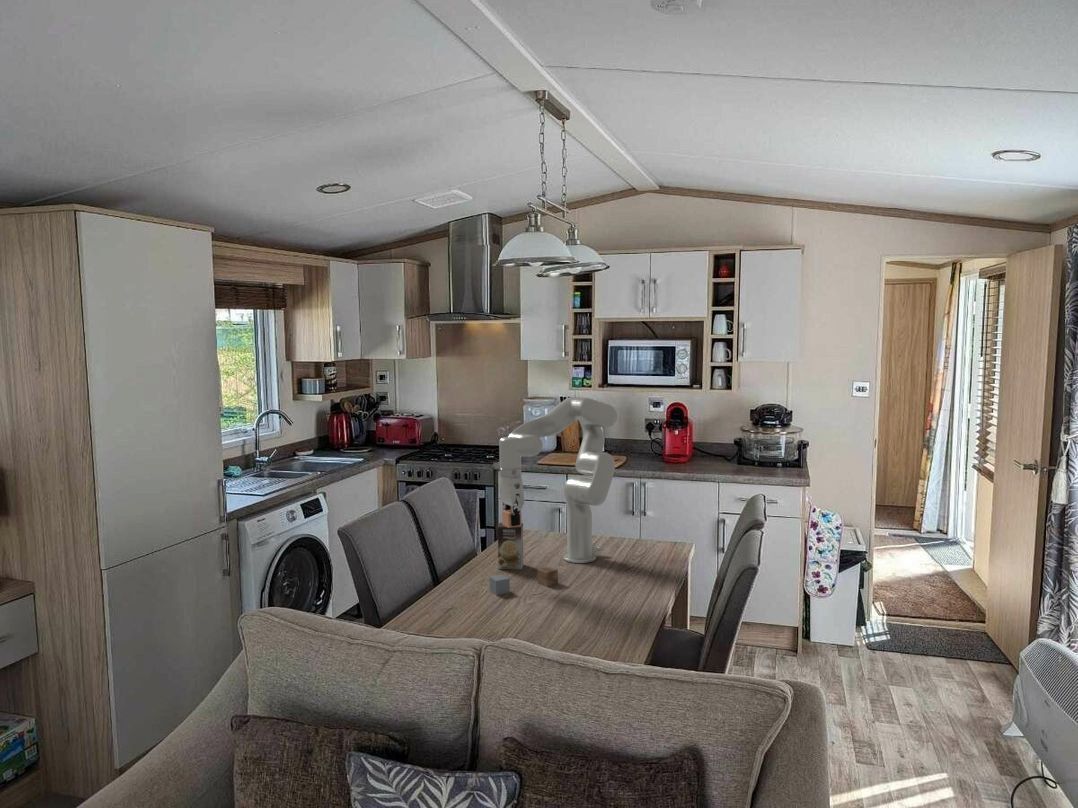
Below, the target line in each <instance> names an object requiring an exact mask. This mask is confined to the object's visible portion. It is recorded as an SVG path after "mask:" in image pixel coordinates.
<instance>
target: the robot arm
mask: <svg viewBox="0 0 1078 808" xmlns="http://www.w3.org/2000/svg"><path fill="white" fill-rule="evenodd" d="M617 413H618V412H617V410H616V409H615V408H614V406H612V405H611V404H607V403H604V402H602V401H599V400H595V399H593V398H588V397H579V396H570V397H567V398H565V399H564V400H562V401H561V402H560V403H558V404H557V405H556V406H555V407H553V408H552V409H551V410H549V411H548V412H547V413H545V414H543V415H541V416H539V417H537V418H534V419H531V420H529V421H526V422H524V423H522V424H521V425H519V426H518V427H516V428H515V429H514V430H513V431H511V433H509V434H508V436H504V437H501V438H500V439H499V441H498V445H499V447H498V449H499V451H498V453H499V477H500V489H499V490H500V491H499V493H500V501H501V503H502V511H504V510H510V509H511V511H512V515H511V526H518V525H520V511H521V510H522V509H523V505H524V504H525V494H524V486H523V485H524V483H523V478H522V477H523V476H522V457H535V456H537V455H539V454H540V453H541V452H542V450H543V446H544V445H543V441H542V439H541V438H546V437H551V436H555V435H558V434H561V432H563V431H564V430H565V429H566V428H568V427H569V426H570V425H571V424H573V423H574V422H576V421H578V423H579V424H580V426H581V429H582V441H581V444H580V447H579V450H578V453H577V456H576V459H575V460H576V462H575V466H574V467H575V470H576V471H577V472H578V473H579V474H582V475H584V476H591V478H588V477H582V476H572V477H569V478H568V479H567V480H566V481H565V482H564V484H563V485H564V486H563V495H564V500H565V505H566V538H567V539H566V540H567V541H566V545H567V547H566V548H567V552H566V553H564V554H563V557H562V558H563V560H565V561H566V562H567V563H574V564H586V563H592V562H594V561H595V560H597V554H596V553H597V552H603V551H604V546H603V545H598V546H597V545H593V514H592V509H591V506H594V507H595V506H596V507H597V506H601V505H602V504H604V503H605V502H606V500H607V497H608V494H609V492H610V487H611V485H612V480H613V477H614V474H615V470H616V463H615V460H614V456H612V455H611V454H610V453H608V452H604V446H605V441H606V440H605V439H606V438H605V433H604V431H603V429H602V428H611V427H612V426H614V425H615V423H617V420H618V414H617ZM514 509H515V510H514ZM521 512H522V511H521Z"/></svg>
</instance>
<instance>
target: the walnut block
mask: <svg viewBox="0 0 1078 808" xmlns="http://www.w3.org/2000/svg"><path fill="white" fill-rule="evenodd" d="M558 571H559V570H558V568H554V567H552V566H549V565H548V566H545V567H541V568H538V569H537V584H539V585H542V586H544V587H550V586H553V585H557V584H559V572H558Z"/></svg>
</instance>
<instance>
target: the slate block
mask: <svg viewBox="0 0 1078 808" xmlns="http://www.w3.org/2000/svg"><path fill="white" fill-rule="evenodd" d="M510 589H511V588H510V577H508V576H507V575H505V574H504V573H502V574H497V575H491V576H489V591H490V592H491V593H492V594H493V595H495V596H500V595H504V594H509V593H510V592H511V590H510Z"/></svg>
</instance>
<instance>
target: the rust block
mask: <svg viewBox="0 0 1078 808" xmlns="http://www.w3.org/2000/svg"><path fill="white" fill-rule="evenodd" d="M514 510H515V508H514ZM501 512H502V513H501V517H502V518H501V519H502V520H501V523H502V525H504V526H506V527H508V528H511V527H517V526H511V515H512V511H511V509H510V510H504V511H503V510H502V511H501ZM518 526H522V511H520V525H518Z"/></svg>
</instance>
